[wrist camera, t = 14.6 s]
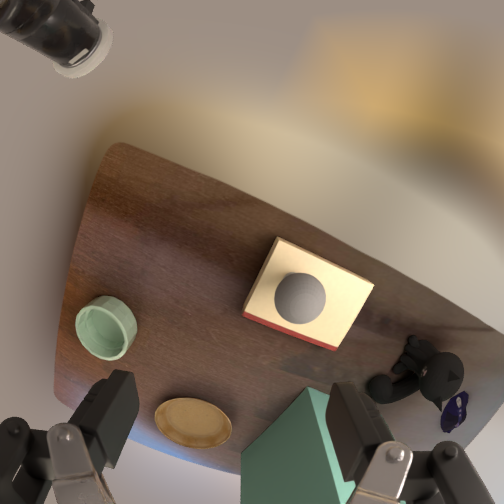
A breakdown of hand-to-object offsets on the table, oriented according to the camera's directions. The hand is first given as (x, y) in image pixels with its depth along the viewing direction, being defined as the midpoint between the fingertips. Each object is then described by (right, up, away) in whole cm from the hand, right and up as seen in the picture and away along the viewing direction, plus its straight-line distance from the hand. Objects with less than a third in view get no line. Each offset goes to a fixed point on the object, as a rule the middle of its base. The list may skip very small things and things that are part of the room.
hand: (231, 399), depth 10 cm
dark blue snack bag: (+53, -36, +42) cm, 77 cm away
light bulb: (+6, +2, +30) cm, 30 cm away
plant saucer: (-10, -26, +38) cm, 48 cm away
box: (+13, -33, +40) cm, 54 cm away
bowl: (-23, -6, +34) cm, 41 cm away
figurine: (+30, -16, +37) cm, 51 cm away
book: (+9, -1, +33) cm, 34 cm away
